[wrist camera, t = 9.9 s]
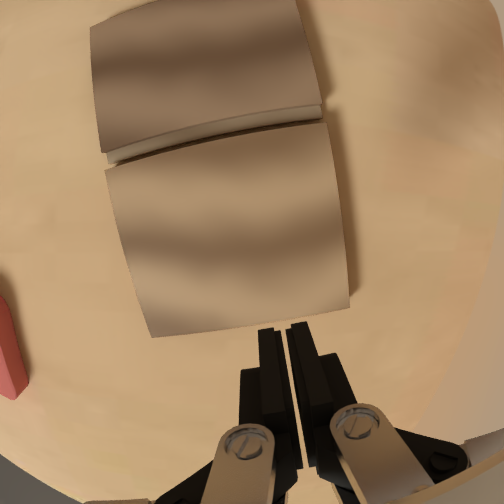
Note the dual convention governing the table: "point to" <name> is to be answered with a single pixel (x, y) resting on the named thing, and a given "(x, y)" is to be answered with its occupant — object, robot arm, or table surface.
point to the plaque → (10, 357)
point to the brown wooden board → (199, 72)
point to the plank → (233, 231)
